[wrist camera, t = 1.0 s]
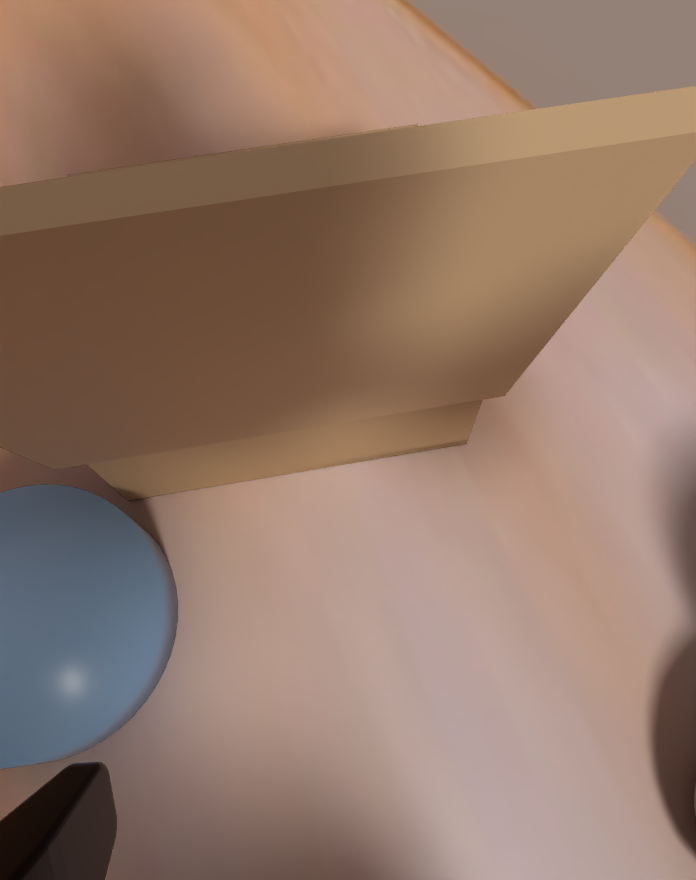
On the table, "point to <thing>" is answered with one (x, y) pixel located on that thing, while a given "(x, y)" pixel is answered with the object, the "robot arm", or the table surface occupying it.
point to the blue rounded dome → (76, 621)
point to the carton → (287, 436)
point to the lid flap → (315, 275)
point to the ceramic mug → (695, 801)
